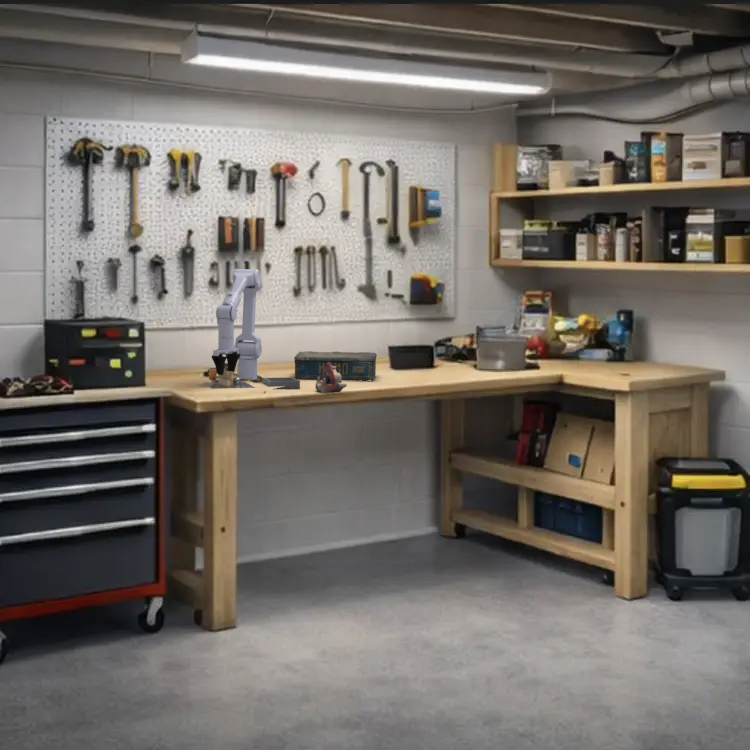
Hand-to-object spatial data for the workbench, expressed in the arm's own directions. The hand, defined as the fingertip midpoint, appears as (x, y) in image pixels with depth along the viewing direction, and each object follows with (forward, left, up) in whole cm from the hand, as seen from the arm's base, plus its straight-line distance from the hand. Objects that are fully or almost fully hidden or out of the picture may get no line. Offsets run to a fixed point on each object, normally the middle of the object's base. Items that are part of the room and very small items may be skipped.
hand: (225, 373), depth 441 cm
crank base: (0, +1, -6) cm, 6 cm away
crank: (-5, +1, -4) cm, 7 cm away
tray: (+1, +21, -6) cm, 22 cm away
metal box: (-25, +51, -6) cm, 57 cm away
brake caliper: (+16, +36, -6) cm, 40 cm away
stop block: (0, 0, -4) cm, 4 cm away
